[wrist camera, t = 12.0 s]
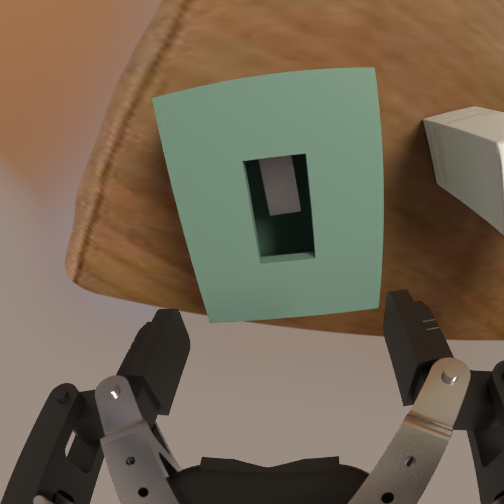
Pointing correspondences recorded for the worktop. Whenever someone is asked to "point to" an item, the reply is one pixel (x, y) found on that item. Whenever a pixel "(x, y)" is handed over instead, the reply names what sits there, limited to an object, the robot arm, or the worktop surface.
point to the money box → (254, 198)
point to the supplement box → (470, 159)
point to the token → (280, 184)
